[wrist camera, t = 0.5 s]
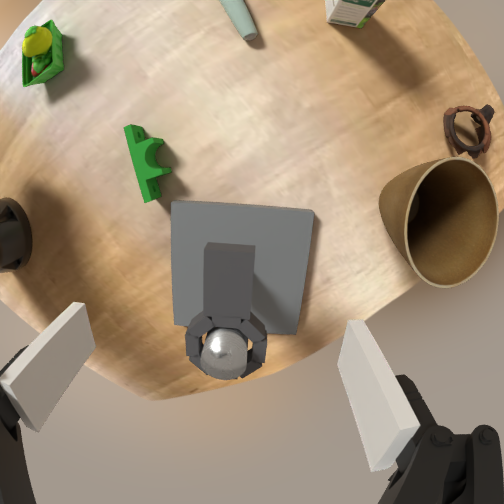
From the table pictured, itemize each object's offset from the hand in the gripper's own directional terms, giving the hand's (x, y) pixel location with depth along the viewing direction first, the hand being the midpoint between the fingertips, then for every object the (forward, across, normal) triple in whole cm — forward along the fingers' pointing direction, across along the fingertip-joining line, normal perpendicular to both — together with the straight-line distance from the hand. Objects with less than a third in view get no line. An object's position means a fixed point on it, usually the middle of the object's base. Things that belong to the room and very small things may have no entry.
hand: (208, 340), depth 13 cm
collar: (+12, 0, -6) cm, 14 cm away
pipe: (+28, 0, -9) cm, 30 cm away
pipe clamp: (+31, -13, +8) cm, 34 cm away
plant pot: (+30, +24, +4) cm, 39 cm away
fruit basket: (+31, -35, +30) cm, 55 cm away
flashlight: (+31, -3, +35) cm, 47 cm away
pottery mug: (+30, +37, +18) cm, 51 cm away
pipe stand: (+30, 0, -9) cm, 32 cm away
